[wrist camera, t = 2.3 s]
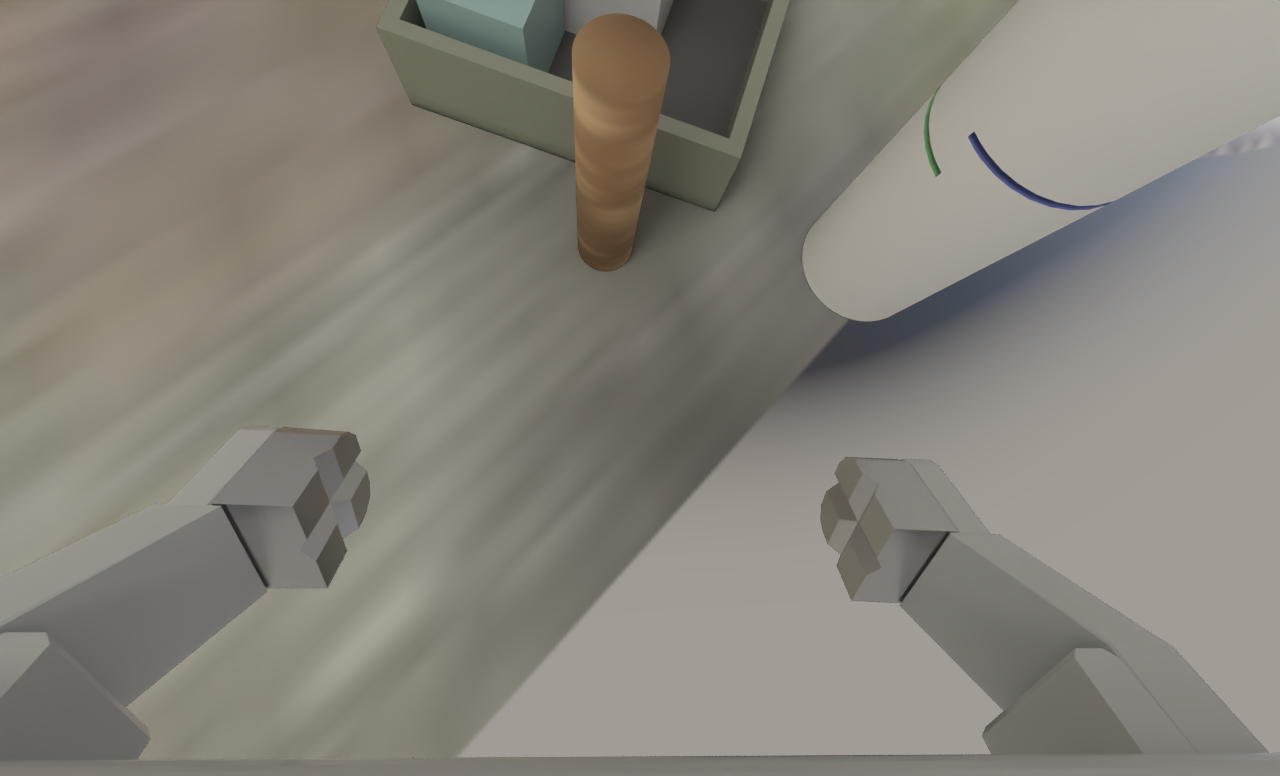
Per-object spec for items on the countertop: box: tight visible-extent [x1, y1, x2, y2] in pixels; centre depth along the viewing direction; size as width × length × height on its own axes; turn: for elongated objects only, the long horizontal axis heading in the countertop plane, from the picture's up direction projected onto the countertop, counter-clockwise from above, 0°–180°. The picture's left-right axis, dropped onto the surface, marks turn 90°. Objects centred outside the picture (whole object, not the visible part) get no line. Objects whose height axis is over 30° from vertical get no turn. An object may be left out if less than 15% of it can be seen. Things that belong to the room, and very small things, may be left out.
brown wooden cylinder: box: [572, 13, 670, 271], centre depth 22 cm, size 3×3×13 cm
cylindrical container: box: [802, 0, 1280, 322], centre depth 17 cm, size 7×7×25 cm
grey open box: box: [376, 0, 790, 212], centre depth 27 cm, size 18×15×7 cm
